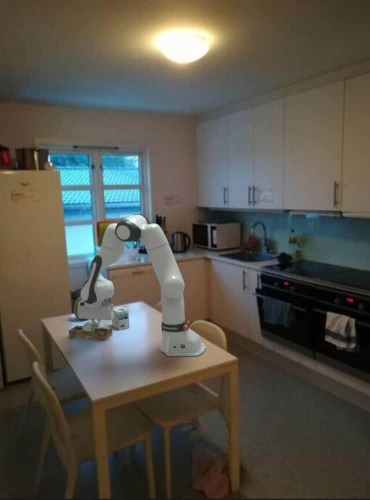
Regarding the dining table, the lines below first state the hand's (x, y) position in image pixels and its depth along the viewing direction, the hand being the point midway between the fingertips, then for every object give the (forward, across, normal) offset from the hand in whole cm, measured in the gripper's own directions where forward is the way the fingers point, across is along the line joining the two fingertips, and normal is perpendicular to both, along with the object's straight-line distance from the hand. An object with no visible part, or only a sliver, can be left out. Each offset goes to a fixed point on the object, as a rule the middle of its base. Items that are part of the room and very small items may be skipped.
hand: (96, 326), depth 209 cm
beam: (+6, +4, 0) cm, 7 cm away
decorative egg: (+6, +23, -25) cm, 34 cm away
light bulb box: (+6, -6, -17) cm, 19 cm away
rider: (+3, +4, 0) cm, 5 cm away
